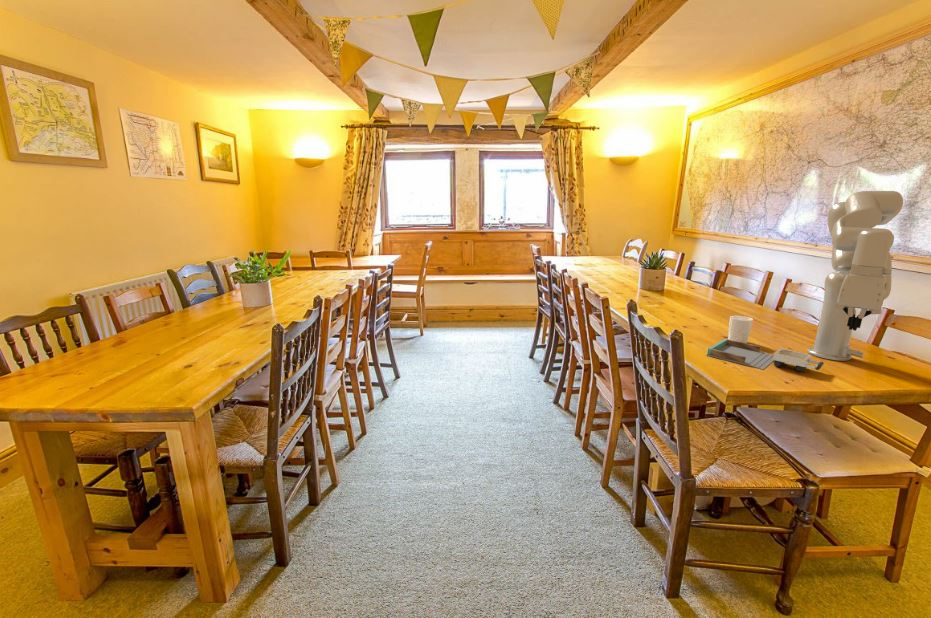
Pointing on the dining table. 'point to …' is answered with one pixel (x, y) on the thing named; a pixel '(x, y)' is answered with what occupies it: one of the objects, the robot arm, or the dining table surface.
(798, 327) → the dining table surface
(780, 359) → the trolley
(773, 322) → the dining table surface
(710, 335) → the dining table surface
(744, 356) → the dock
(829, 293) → the robot arm
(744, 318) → the white cup
